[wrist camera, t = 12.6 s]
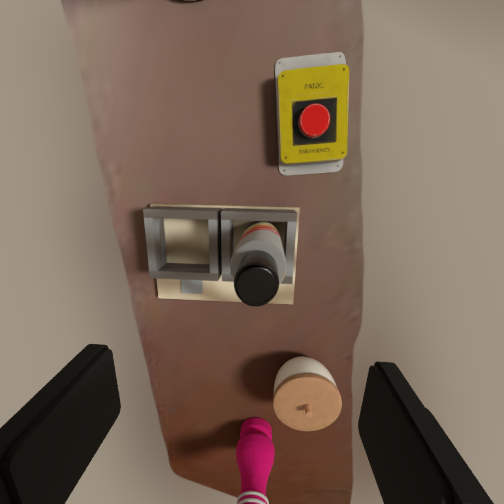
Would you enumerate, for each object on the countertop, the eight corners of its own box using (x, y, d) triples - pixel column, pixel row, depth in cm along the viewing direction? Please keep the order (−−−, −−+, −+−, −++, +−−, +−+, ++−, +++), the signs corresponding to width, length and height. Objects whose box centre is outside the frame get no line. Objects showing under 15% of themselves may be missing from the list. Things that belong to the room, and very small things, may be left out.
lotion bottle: (249, 215, 39) (231, 243, 20) (284, 226, 39) (301, 264, 20) (239, 250, 40) (213, 307, 21) (273, 260, 41) (278, 327, 21)
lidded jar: (334, 388, 48) (350, 437, 39) (279, 397, 50) (281, 445, 41) (325, 340, 45) (339, 380, 36) (266, 350, 47) (266, 391, 38)
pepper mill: (251, 447, 54) (242, 597, 34) (231, 424, 52) (210, 567, 33) (280, 433, 52) (288, 582, 33) (260, 409, 51) (256, 551, 31)
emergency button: (280, 175, 34) (275, 44, 30) (279, 176, 39) (274, 60, 35) (351, 170, 34) (355, 35, 30) (341, 171, 38) (344, 53, 34)
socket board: (152, 203, 40) (137, 206, 36) (298, 207, 39) (303, 211, 34) (160, 295, 45) (148, 309, 40) (292, 301, 44) (295, 316, 39)
